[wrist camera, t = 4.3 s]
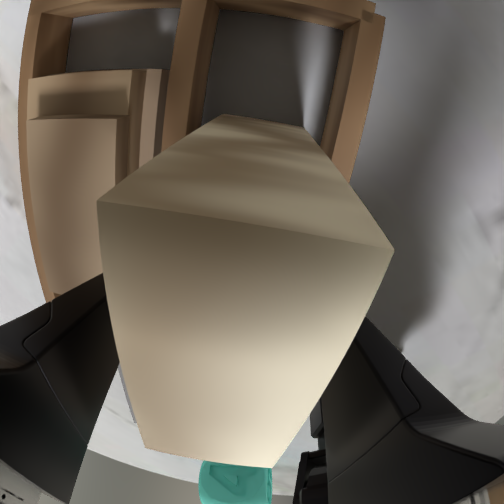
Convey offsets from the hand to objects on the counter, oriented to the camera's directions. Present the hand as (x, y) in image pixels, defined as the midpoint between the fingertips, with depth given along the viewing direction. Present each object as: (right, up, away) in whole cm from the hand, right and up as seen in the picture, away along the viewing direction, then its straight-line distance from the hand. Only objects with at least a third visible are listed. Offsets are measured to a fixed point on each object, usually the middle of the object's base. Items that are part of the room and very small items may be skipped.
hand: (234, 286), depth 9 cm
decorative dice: (-1, -26, +25) cm, 36 cm away
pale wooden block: (0, +4, +7) cm, 8 cm away
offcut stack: (-8, +5, +7) cm, 11 cm away
